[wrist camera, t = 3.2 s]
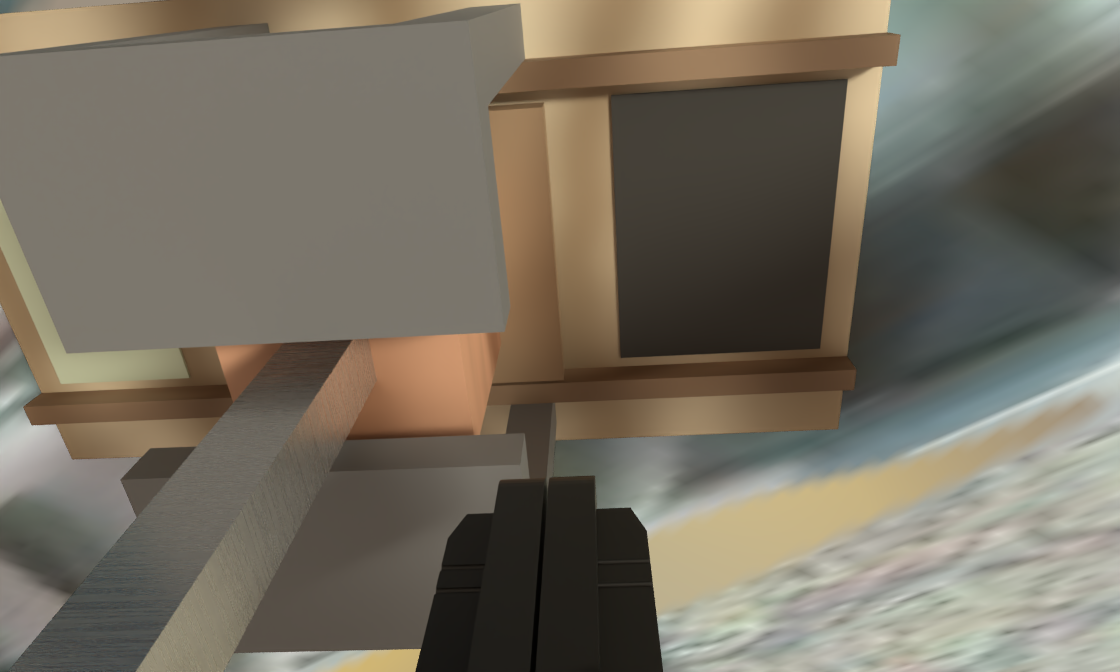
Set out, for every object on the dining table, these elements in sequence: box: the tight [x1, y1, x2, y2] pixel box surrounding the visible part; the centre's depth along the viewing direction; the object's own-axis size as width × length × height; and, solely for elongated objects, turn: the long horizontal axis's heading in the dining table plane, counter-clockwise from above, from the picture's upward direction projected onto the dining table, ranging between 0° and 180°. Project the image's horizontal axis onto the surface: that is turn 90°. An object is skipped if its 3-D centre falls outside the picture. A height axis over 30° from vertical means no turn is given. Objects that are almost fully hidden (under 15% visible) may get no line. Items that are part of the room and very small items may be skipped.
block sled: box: [8, 102, 565, 672], centre depth 16 cm, size 10×9×17 cm
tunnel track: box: [0, 0, 900, 653], centre depth 20 cm, size 30×16×12 cm, turn 94°
